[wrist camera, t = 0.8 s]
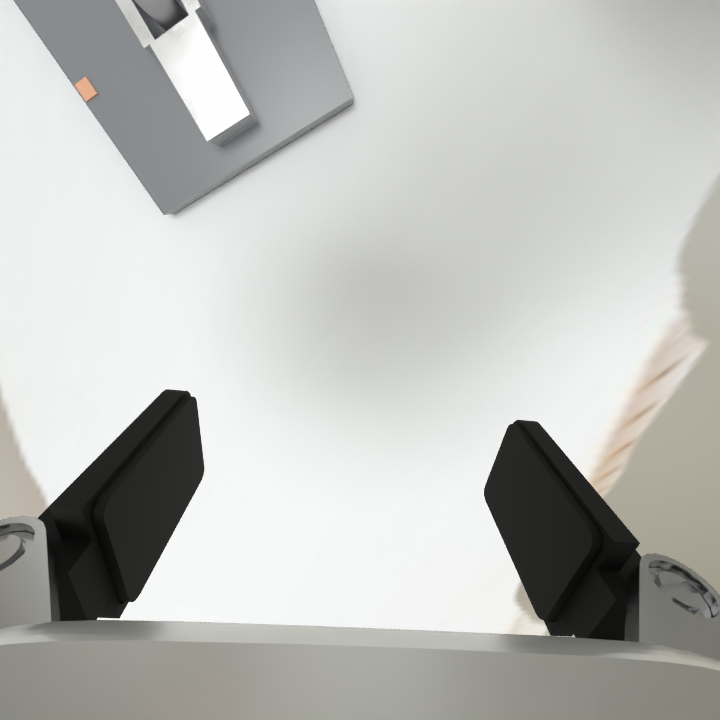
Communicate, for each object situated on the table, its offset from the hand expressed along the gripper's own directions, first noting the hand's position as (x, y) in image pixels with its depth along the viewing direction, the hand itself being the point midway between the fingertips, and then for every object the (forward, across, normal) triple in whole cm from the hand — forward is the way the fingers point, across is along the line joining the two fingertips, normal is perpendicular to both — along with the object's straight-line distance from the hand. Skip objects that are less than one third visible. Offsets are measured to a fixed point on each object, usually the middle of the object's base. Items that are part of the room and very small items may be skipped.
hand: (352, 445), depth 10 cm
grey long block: (+26, +15, -17) cm, 35 cm away
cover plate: (+28, +15, -17) cm, 37 cm away
